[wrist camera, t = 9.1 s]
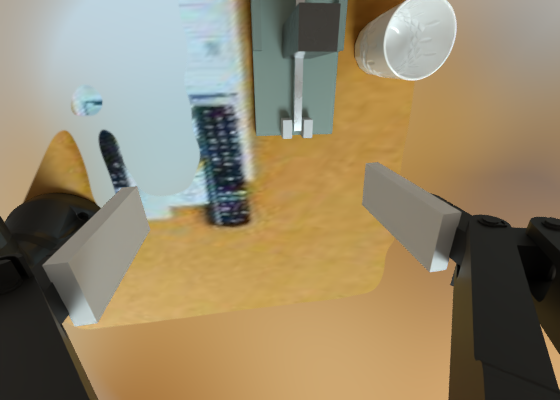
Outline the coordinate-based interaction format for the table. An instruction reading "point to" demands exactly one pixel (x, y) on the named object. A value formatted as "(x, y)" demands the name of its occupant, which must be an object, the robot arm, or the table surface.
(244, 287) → the table surface
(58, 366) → the robot arm
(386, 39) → the white cup
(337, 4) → the grey t-handle tool
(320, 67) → the grey-green piece
